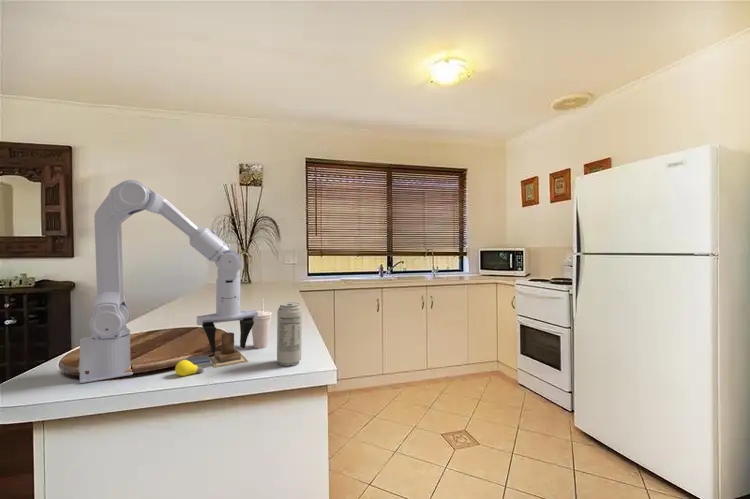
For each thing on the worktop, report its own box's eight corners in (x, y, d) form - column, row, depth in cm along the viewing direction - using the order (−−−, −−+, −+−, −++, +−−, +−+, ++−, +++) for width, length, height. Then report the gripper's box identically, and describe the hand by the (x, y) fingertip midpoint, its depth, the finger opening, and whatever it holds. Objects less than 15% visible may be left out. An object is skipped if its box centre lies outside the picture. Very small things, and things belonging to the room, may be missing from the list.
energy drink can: (302, 358, 98) (302, 301, 97) (300, 366, 92) (301, 306, 91) (278, 359, 97) (279, 301, 97) (275, 367, 91) (275, 306, 91)
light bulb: (172, 375, 85) (177, 359, 86) (200, 378, 88) (204, 362, 89) (173, 375, 82) (178, 358, 84) (202, 378, 85) (206, 362, 86)
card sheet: (214, 367, 90) (214, 366, 90) (208, 358, 97) (208, 357, 97) (248, 361, 95) (248, 360, 95) (240, 353, 101) (240, 352, 101)
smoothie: (268, 350, 104) (268, 300, 104) (245, 349, 104) (245, 300, 104) (274, 343, 111) (275, 296, 110) (253, 343, 111) (253, 296, 110)
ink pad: (187, 370, 88) (187, 364, 88) (184, 363, 92) (184, 357, 92) (212, 366, 91) (212, 360, 91) (208, 359, 96) (208, 354, 96)
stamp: (220, 363, 93) (220, 337, 92) (214, 357, 96) (214, 333, 96) (240, 359, 96) (240, 334, 95) (234, 354, 100) (234, 330, 99)
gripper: (252, 292, 102) (252, 341, 103) (194, 296, 94) (194, 349, 95) (260, 296, 97) (260, 348, 97) (199, 301, 88) (199, 357, 89)
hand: (228, 349), depth 96 cm, fingers open, 7 cm apart
